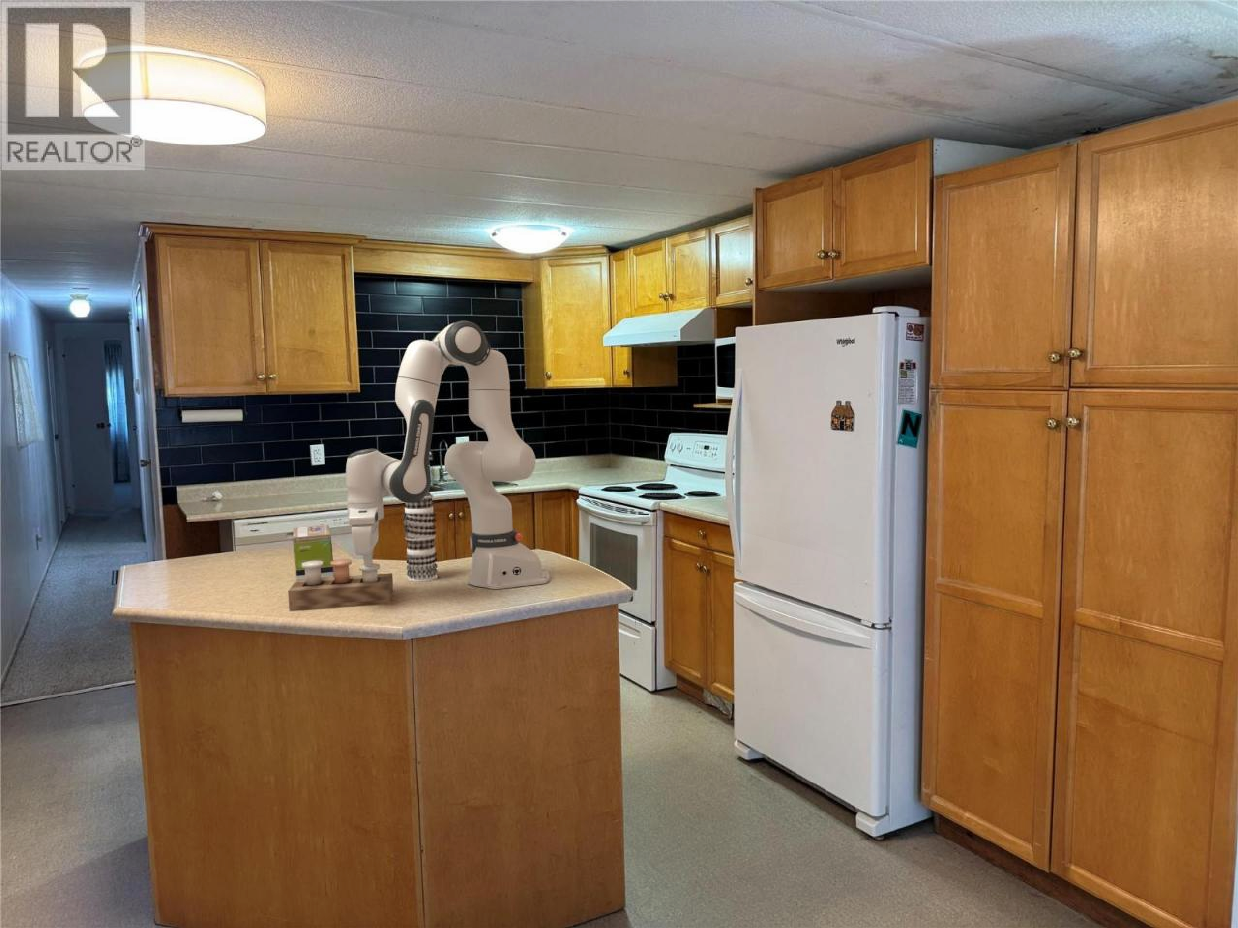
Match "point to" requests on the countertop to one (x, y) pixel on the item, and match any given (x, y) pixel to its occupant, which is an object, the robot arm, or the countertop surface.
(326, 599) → the socket board
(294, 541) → the tea box
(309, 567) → the grey plug
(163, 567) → the countertop surface
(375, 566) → the grey plug
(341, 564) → the terracotta plug
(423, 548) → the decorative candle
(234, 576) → the countertop surface
